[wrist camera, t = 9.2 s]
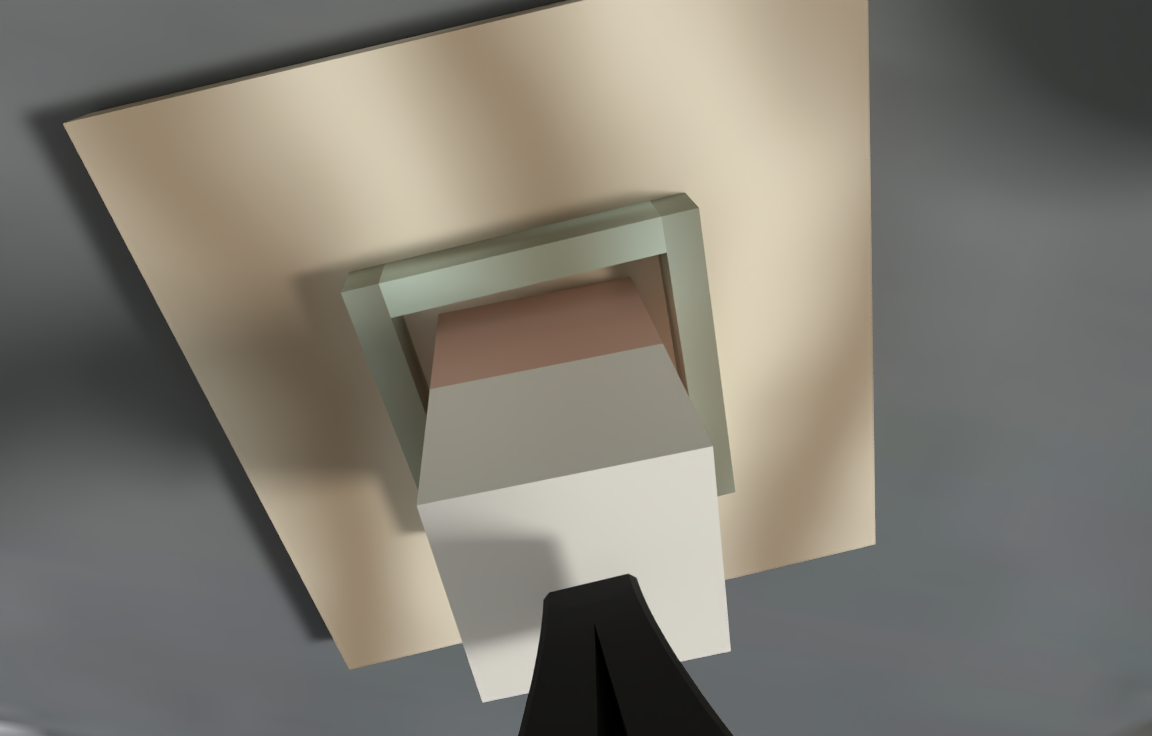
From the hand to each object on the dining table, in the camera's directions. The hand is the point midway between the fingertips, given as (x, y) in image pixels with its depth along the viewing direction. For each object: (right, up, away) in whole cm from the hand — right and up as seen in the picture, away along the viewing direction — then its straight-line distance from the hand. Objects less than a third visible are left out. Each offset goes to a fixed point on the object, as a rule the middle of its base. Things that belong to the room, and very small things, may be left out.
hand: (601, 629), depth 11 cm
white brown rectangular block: (-1, +4, +7) cm, 8 cm away
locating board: (-1, +4, +8) cm, 9 cm away
